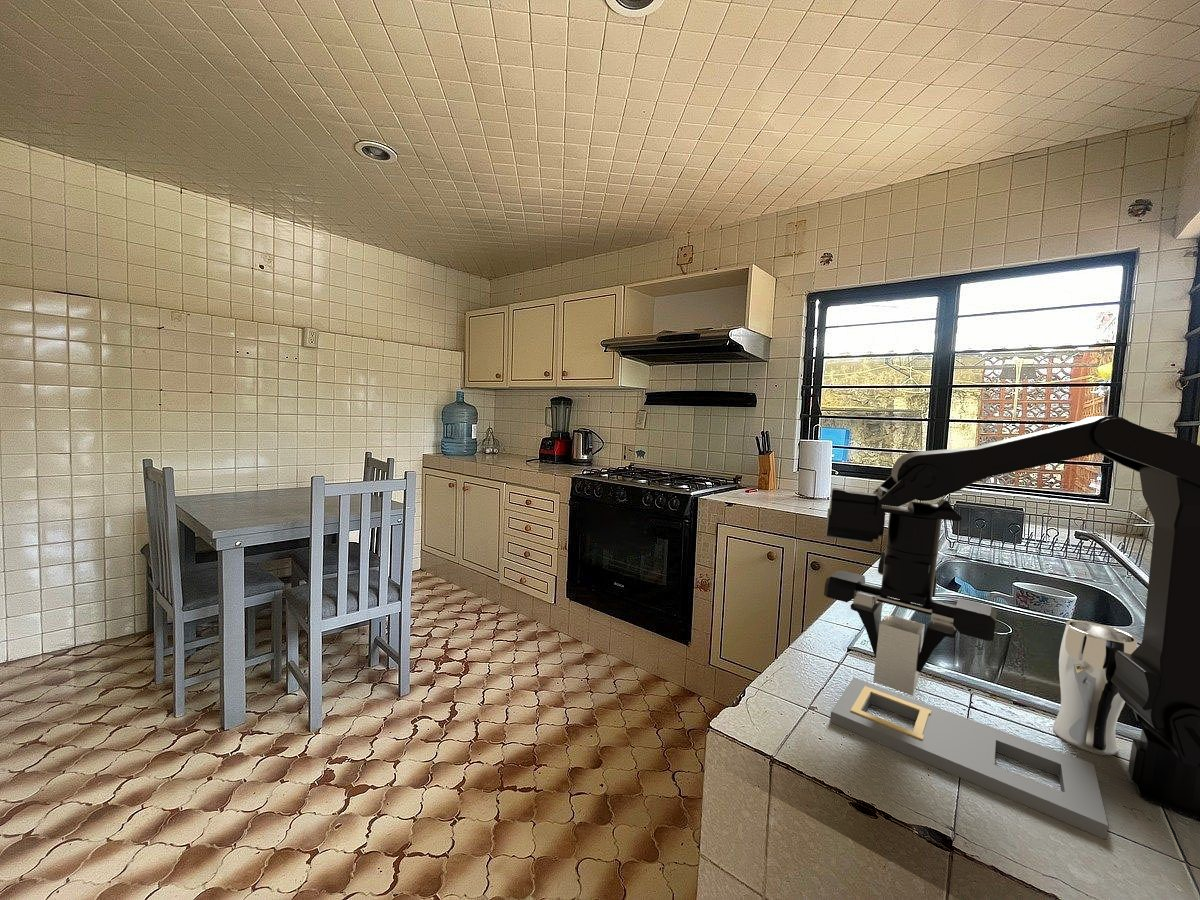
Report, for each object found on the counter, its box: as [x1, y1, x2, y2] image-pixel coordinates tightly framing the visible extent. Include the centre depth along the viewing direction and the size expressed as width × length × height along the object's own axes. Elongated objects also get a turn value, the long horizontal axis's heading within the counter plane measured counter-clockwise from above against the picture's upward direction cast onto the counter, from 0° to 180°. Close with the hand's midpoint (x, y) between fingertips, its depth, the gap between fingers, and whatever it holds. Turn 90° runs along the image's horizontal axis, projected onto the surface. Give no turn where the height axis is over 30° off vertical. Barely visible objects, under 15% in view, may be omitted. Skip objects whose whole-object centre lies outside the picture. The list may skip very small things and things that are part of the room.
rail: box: [829, 676, 1109, 840], centre depth 62 cm, size 26×12×2 cm, turn 50°
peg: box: [872, 613, 926, 696], centre depth 66 cm, size 4×4×8 cm
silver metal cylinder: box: [1052, 619, 1139, 756], centre depth 65 cm, size 7×7×15 cm
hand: (897, 663), depth 66 cm, fingers closed on peg, 4 cm apart
